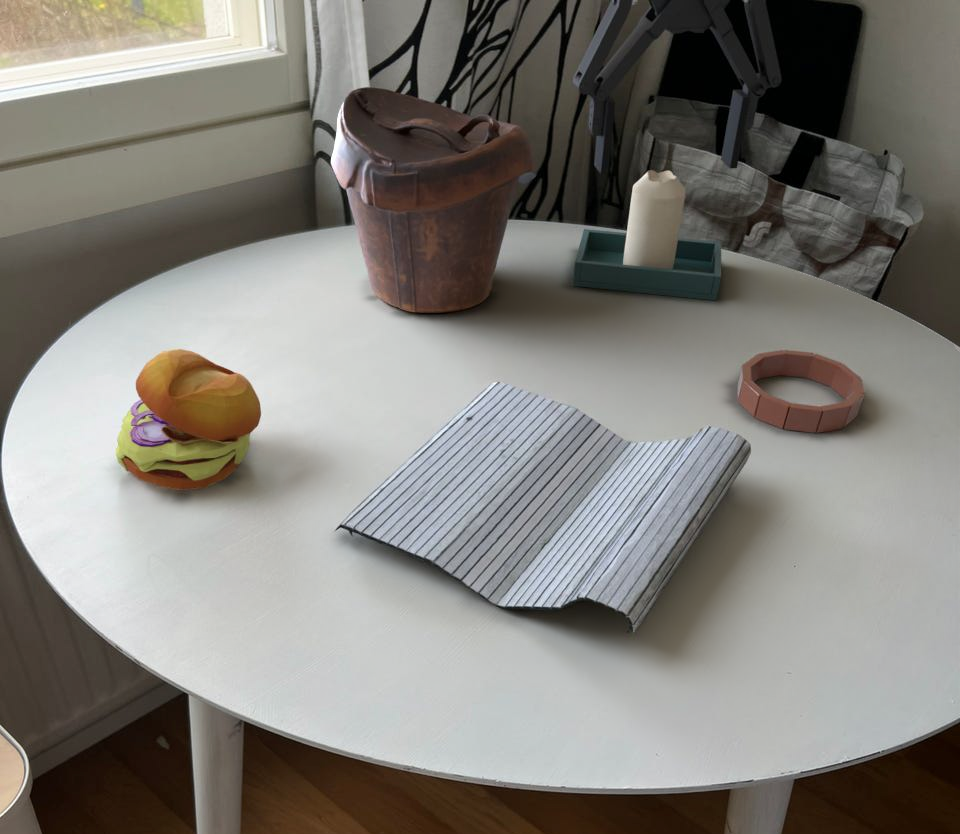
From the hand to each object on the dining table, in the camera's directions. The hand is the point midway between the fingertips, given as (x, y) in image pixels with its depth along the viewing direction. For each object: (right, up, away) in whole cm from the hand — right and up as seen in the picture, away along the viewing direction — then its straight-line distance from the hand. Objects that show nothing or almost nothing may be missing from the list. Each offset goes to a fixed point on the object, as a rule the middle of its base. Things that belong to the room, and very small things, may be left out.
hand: (665, 167), depth 97 cm
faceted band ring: (+10, -27, -11) cm, 30 cm away
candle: (-1, -8, +8) cm, 11 cm away
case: (-24, -11, +4) cm, 27 cm away
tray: (-1, -8, +8) cm, 11 cm away
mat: (-14, -39, -24) cm, 48 cm away
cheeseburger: (-42, -34, -20) cm, 58 cm away
